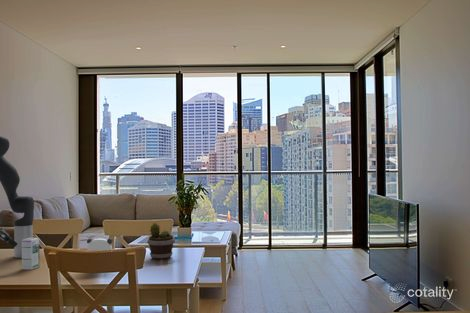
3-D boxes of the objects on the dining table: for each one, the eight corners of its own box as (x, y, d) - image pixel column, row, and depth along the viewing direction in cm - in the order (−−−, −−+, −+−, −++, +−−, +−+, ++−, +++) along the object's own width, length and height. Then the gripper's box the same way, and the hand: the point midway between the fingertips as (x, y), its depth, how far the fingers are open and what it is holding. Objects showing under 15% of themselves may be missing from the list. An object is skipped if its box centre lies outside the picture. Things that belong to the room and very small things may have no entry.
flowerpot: (177, 255, 240) (177, 219, 240) (171, 261, 224) (170, 222, 225) (152, 255, 241) (152, 219, 241) (143, 261, 226) (143, 222, 226)
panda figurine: (114, 266, 214) (114, 236, 214) (110, 272, 203) (110, 240, 203) (88, 267, 212) (88, 236, 213) (84, 273, 201) (84, 240, 201)
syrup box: (32, 269, 209) (32, 239, 209) (21, 269, 210) (21, 239, 210) (39, 267, 214) (39, 237, 214) (29, 266, 215) (29, 237, 216)
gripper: (-6, 217, 198) (24, 241, 205) (-8, 214, 209) (20, 237, 216) (-19, 229, 195) (11, 253, 202) (-21, 226, 206) (8, 249, 213)
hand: (15, 245), depth 209 cm, fingers closed
